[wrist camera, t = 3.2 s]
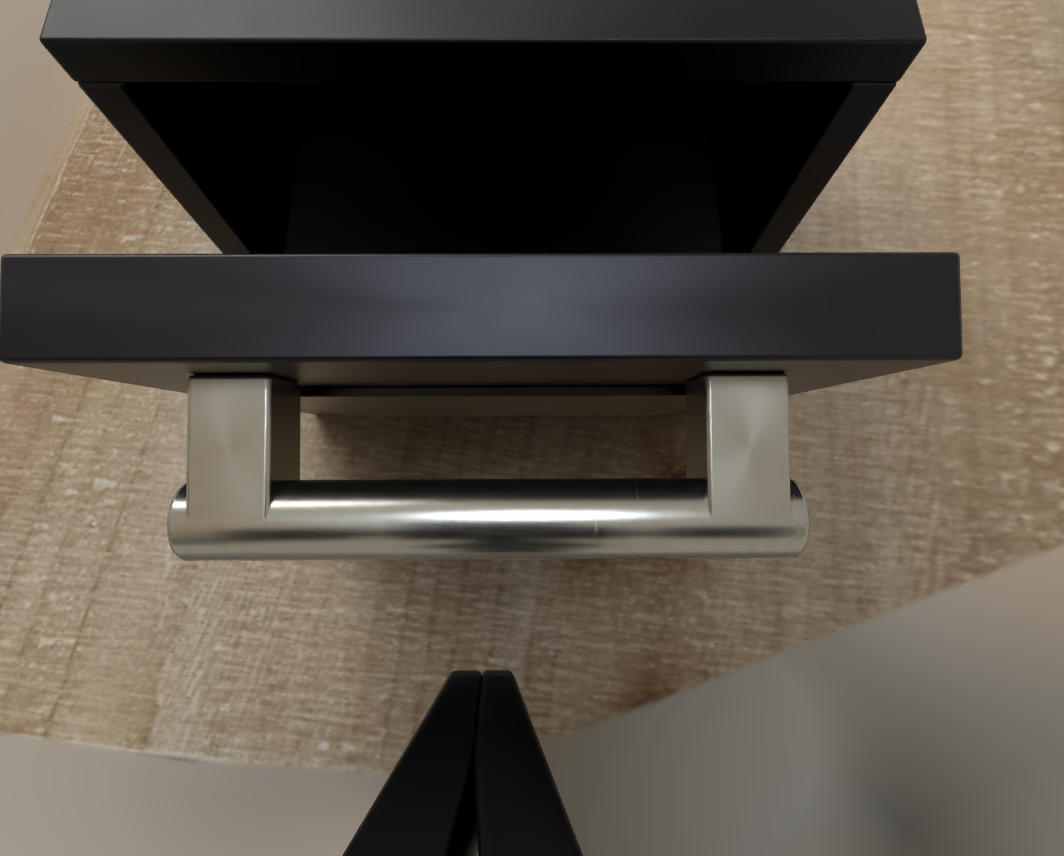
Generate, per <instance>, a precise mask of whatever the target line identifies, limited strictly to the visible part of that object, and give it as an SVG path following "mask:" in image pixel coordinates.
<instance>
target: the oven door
mask: <svg viewBox="0 0 1064 856" xmlns="http://www.w3.org/2000/svg"><path fill="white" fill-rule="evenodd" d="M962 354H963V353H962V320H961V287H960V257H959V254H958V253H954V252H861V253H358V254H5V255H3V256H2V257H1V273H0V361H1V362H4V363H6V364H13V365H19V366H25V367H31V368H37V369H43V370H49V371H55V372H61V373H67V374H73V375H79V376H85V377H92V378H98V379H104V380H110V381H116V382H122V383H128V384H134V385H140V386H146V387H152V388H158V389H164V390H171V391H177V392H183V393H188V425H187V483H186V484H184V485H183V486H182V487H181V488H180V489H179V490H178V491H177V493H176V494H175V496H174V498H173V500H172V502H171V505H170V509H169V513H168V520H167V533H168V539H169V543H170V546H171V548H172V550H173V552H174V553H175V554H176V556H178V557H179V558H181V559H183V560H185V561H289V560H469V559H648V558H793V557H796V556H798V555H799V554H801V553H802V551H803V550H804V548H805V546H806V542H807V538H808V532H809V515H808V508H807V503H806V500H805V497H804V494H803V492H802V490H801V488H800V486H799V485H798V484H797V483H796V482H795V481H794V480H792V479H790V453H789V403H788V395H791V394H796V393H801V392H806V391H811V390H815V389H820V388H825V387H830V386H835V385H839V384H844V383H849V382H854V381H859V380H863V379H868V378H873V377H878V376H883V375H887V374H892V373H897V372H902V371H907V370H911V369H916V368H921V367H926V366H931V365H935V364H940V363H945V362H950V361H955V360H958V359H960V358H961V357H962ZM300 412H304V413H310V414H341V415H346V416H351V417H362V416H619V415H667V414H671V413H686V478H614V479H398V480H300Z"/></svg>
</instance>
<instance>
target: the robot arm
mask: <svg viewBox="0 0 1064 856" xmlns="http://www.w3.org/2000/svg"><path fill="white" fill-rule="evenodd" d="M477 852H478V856H583V855H582V852H581V849H580V847H579V844H578V842H577V839H576V836H575V834H574V831H573V828H572V826H571V824H570V821H569V818H568V815H567V813H566V810H565V808H564V805H563V803H562V800H561V797H560V795H559V792H558V789H557V787H556V784H555V782H554V779H553V777H552V774H551V771H550V769H549V766H548V763H547V761H546V758H545V756H544V753H543V750H542V748H541V745H540V743H539V740H538V737H537V735H536V732H535V729H534V727H533V724H532V722H531V719H530V716H529V714H528V711H527V709H526V706H525V703H524V701H523V698H522V696H521V693H520V690H519V688H518V685H517V683H516V680H515V677H514V675H513V674H512V672H511V671H509V670H487V671H485V672H484V673H483V674H481V672H479V671H477V670H461V671H454V672H452V673H451V674H450V676H449V677H448V678H447V680H446V682H445V684H444V685H443V687H442V689H441V690H440V692H439V694H438V695H437V697H436V699H435V700H434V702H433V704H432V705H431V707H430V709H429V711H428V712H427V714H426V716H425V717H424V719H423V721H422V722H421V724H420V726H419V727H418V729H417V731H416V732H415V734H414V736H413V737H412V739H411V741H410V743H409V744H408V746H407V748H406V749H405V751H404V753H403V754H402V756H401V758H400V759H399V761H398V763H397V764H396V766H395V768H394V770H393V771H392V773H391V775H390V776H389V778H388V780H387V781H386V783H385V785H384V787H383V788H382V790H381V791H380V793H379V795H378V797H377V798H376V800H375V802H374V804H373V805H372V807H371V808H370V810H369V812H368V814H367V815H366V817H365V819H364V820H363V822H362V824H361V825H360V827H359V829H358V830H357V832H356V834H355V835H354V837H353V839H352V840H351V842H350V844H349V845H348V847H347V849H346V850H345V852H344V854H343V856H477Z"/></svg>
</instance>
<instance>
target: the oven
mask: <svg viewBox="0 0 1064 856" xmlns="http://www.w3.org/2000/svg"><path fill="white" fill-rule="evenodd" d="M926 39H927V38H926V34H925V30H924V26H923V23H922V19H921V15H920V11H919V8H918V4H917V0H51V3H50V6H49V10H48V13H47V16H46V19H45V23H44V25H43V29H42V32H41V35H40V41H41V43H42V44H43V46H44V47H45V48H46V49H47V50H48V51H49V53H50V54H51V55H52V56H53V57H54V58H55V59H56V61H57V62H58V63H59V64H60V65H61V66H62V68H63V69H64V70H65V71H66V72H67V73H68V74H69V76H70V77H71V78H72V79H73V80H74V81H77V82H78V84H79V86H80V87H81V89H82V90H83V91H84V92H85V93H86V95H87V96H88V97H89V98H90V99H91V100H92V102H93V103H94V104H95V105H96V106H97V107H98V109H99V110H100V111H101V112H102V113H103V114H104V116H105V117H106V118H107V119H108V120H109V121H110V123H111V124H112V125H113V126H114V127H115V128H116V130H117V131H118V132H119V133H120V134H121V135H122V137H123V138H124V139H125V140H126V141H127V142H128V144H129V145H130V146H131V147H132V148H133V149H134V151H135V152H136V153H137V154H138V155H139V156H140V158H141V159H142V160H143V161H144V162H145V163H146V165H147V166H148V167H149V168H150V169H151V170H152V171H153V173H154V174H155V175H156V176H157V177H158V178H159V180H160V181H161V182H162V183H163V184H164V185H165V187H166V188H167V189H168V190H169V191H170V192H171V194H172V195H173V196H174V197H175V198H176V199H177V201H178V202H179V203H180V204H181V205H182V206H183V208H184V209H185V210H186V211H187V212H188V213H189V215H190V216H191V217H192V218H193V219H194V220H195V222H196V223H197V224H198V225H199V226H200V227H201V229H202V230H203V231H204V232H205V233H206V234H207V236H208V237H209V238H210V239H211V240H212V241H213V243H214V244H215V245H216V246H217V247H218V248H219V250H220V251H221V252H222V253H223V254H358V253H779V252H780V250H781V249H782V247H783V246H784V244H785V243H786V242H787V240H788V239H789V237H790V236H791V234H792V233H793V232H794V230H795V229H796V227H797V226H798V224H799V223H800V222H801V220H802V219H803V217H804V216H805V214H806V213H807V212H808V210H809V209H810V207H811V206H812V204H813V203H814V202H815V200H816V199H817V197H818V196H819V194H820V193H821V192H822V190H823V189H824V187H825V186H826V184H827V183H828V182H829V180H830V179H831V177H832V176H833V174H834V173H835V172H836V170H837V169H838V167H839V166H840V164H841V163H842V162H843V160H844V159H845V157H846V156H847V154H848V153H849V152H850V150H851V149H852V147H853V146H854V144H855V143H856V142H857V140H858V139H859V137H860V136H861V135H862V133H863V132H864V130H865V129H866V127H867V126H868V125H869V123H870V122H871V120H872V119H873V117H874V116H875V115H876V113H877V112H878V110H879V109H880V107H881V106H882V105H883V103H884V102H885V100H886V99H887V97H888V96H889V95H890V93H891V92H892V90H893V89H894V87H895V86H896V83H897V81H899V80H900V79H901V77H902V76H903V74H904V73H905V72H906V70H907V69H908V67H909V66H910V64H911V63H912V62H913V60H914V59H915V57H916V56H917V54H918V53H919V52H920V50H921V49H922V47H923V46H924V45H925V43H926Z"/></svg>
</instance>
